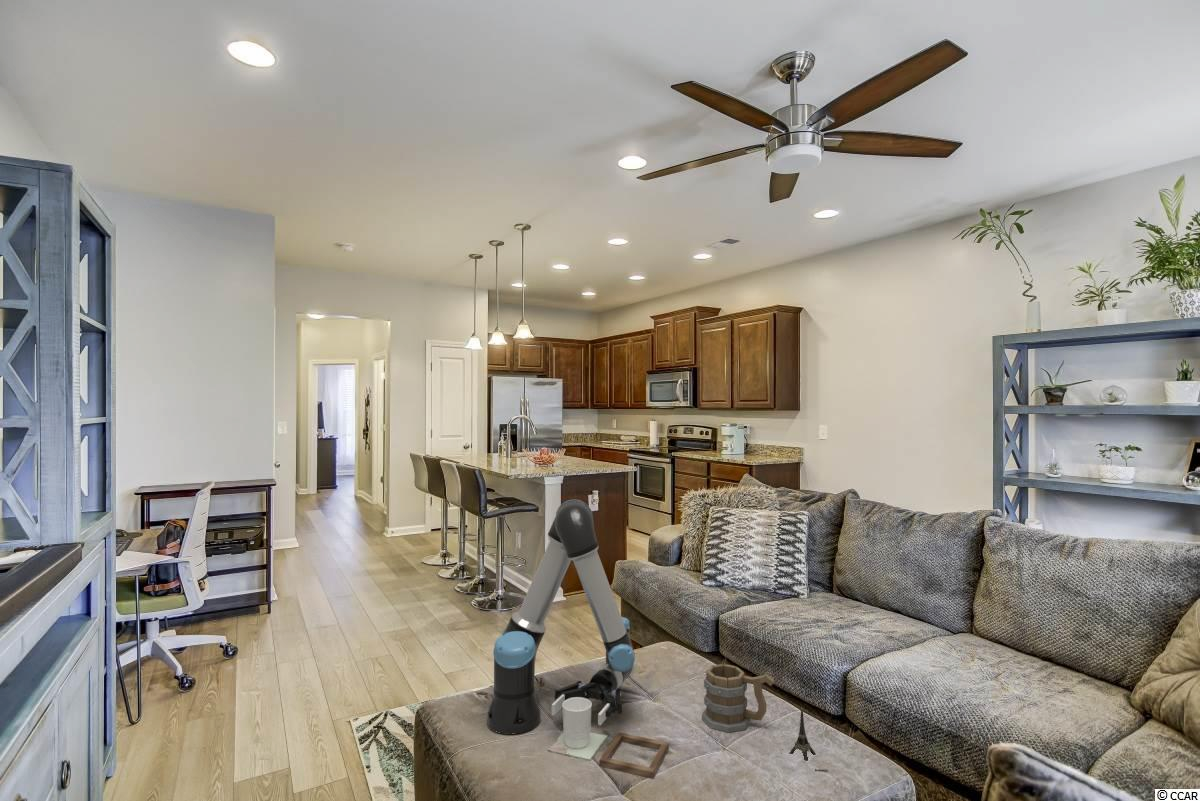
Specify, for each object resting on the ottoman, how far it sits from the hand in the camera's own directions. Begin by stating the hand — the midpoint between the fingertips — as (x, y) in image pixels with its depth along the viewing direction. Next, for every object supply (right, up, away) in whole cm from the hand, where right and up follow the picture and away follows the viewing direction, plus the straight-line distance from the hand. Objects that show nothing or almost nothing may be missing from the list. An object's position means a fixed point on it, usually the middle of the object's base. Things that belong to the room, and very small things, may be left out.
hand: (575, 714), depth 154 cm
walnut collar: (+15, -8, -5) cm, 18 cm away
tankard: (+46, -9, +12) cm, 48 cm away
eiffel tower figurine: (+58, -9, -3) cm, 59 cm away
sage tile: (+1, -9, +2) cm, 9 cm away
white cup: (0, -8, +2) cm, 9 cm away
